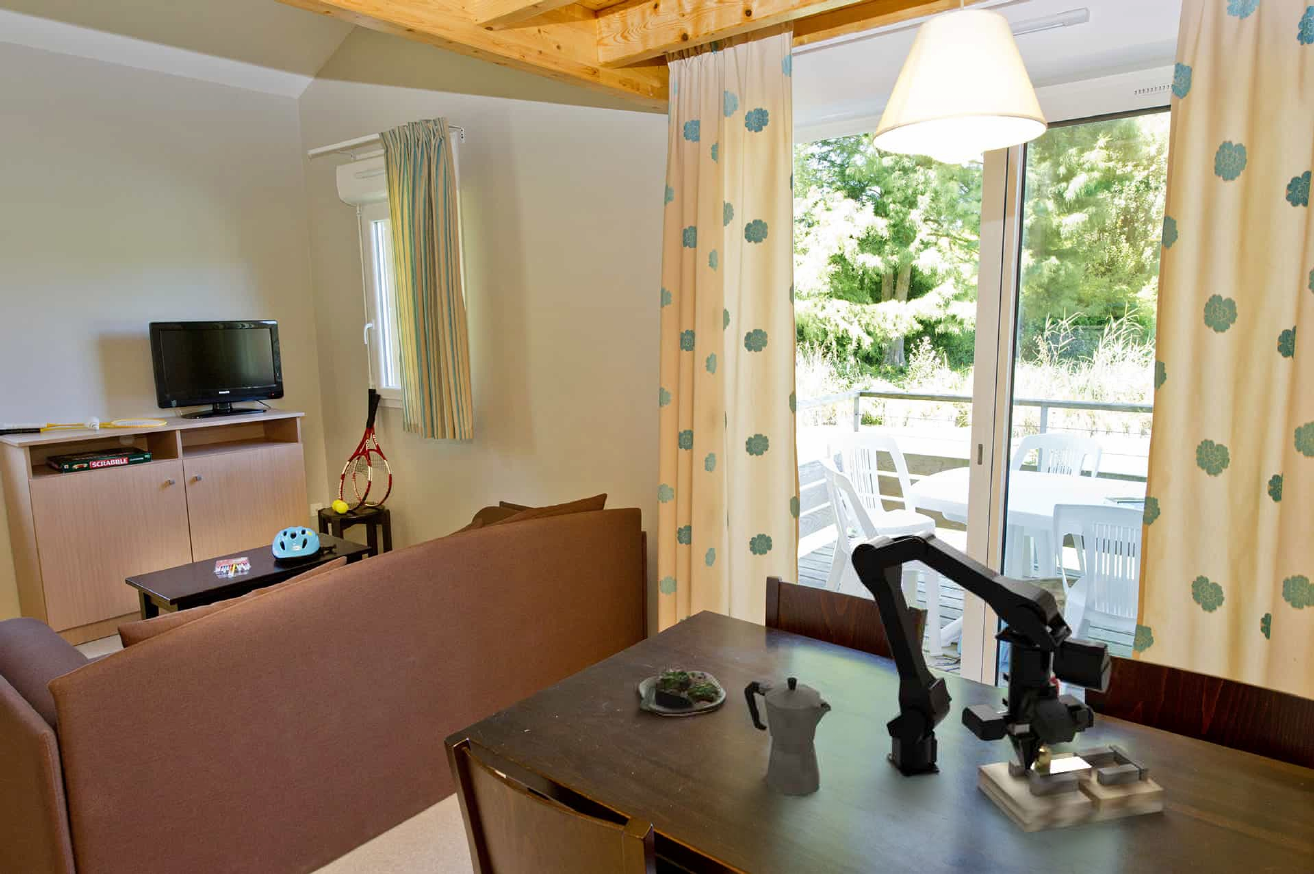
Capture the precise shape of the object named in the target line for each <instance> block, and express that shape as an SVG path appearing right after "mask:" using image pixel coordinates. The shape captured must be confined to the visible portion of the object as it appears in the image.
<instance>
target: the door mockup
mask: <svg viewBox="0 0 1314 874" xmlns="http://www.w3.org/2000/svg"><path fill="white" fill-rule="evenodd" d="M1073 757H1079V758H1081V759H1082V760H1083V761H1085V762H1086V763H1087V764H1089V765H1090V766H1091V767H1092V779H1089V780H1083V781H1078V780H1079V779H1078V778H1077V777H1076V776H1075V775H1073V774H1072V773H1066V774H1060V775H1053V776H1046V777H1040V778H1033V779H1029V778H1028V777H1027V770H1024V769H1023V768H1022V767H1021V765H1020V762H1019V760H1018V758H1016V759H1010V760H1008V761H1003V762H996V763H989V764H984V765H983V764H982V765H978V768H977V769H978V771H977V772H978V773H977V787H978V788H979V789H980V790H981V791H982V792H983V793H984V794H985V795H986V796H987V797H988V798H989V799H990V800H991V801H992V802H994V804H995V805H997V807H998V808H1000V810H1001V811H1002V812H1003V813H1004V814H1005V815H1006V816H1008V817H1009V818H1010V820H1011V821H1013V823H1015V824H1016V825H1017V826H1018V828H1020V829H1021V830H1022V831H1023V832H1024V833H1025V834H1029V833H1030V834H1031V833H1034V832H1040V831H1041V832H1042V831H1046V830H1047V831H1048V830H1054V829H1060V828H1065V827H1071V826H1078V825H1084V824H1089V823H1094V822H1095V823H1096V822H1100V821H1108V820H1114V819H1120V818H1125V817H1126V818H1127V817H1133V816H1138V815H1146V814H1151V813H1157V812H1163V807H1164V806H1163V805H1164V792H1165V791H1164V790H1165V789H1164V788H1162V787H1161V785H1158V784H1157V783H1155V782H1154V781H1153V780H1151V779H1150V778H1149V767H1148V766H1147V765H1145V764H1143V763H1142V762H1141V761H1140V760H1138V759H1136V758H1135V757H1134V756H1132V755H1131V754H1129V753H1128V752H1127V751H1125V750H1123V749H1122V748H1121V747H1119V746H1118V745H1116V744H1113V745H1108V746H1106V745H1105V746H1099V747H1093V748H1085V749H1078V750H1073V751H1072V752H1067V753H1066V752H1065V753H1059V754H1051V761H1052V760H1059V759H1066V758H1073Z"/></svg>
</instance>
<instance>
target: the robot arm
mask: <svg viewBox="0 0 1314 874" xmlns="http://www.w3.org/2000/svg"><path fill="white" fill-rule="evenodd" d="M850 556H851V557H850V561H851V565H852V566H853V568H854V569H853V570H854V571H855V573H856V574H857V577H858V580H859V581H860V583H861V584H862V585H863V586H864V587H865V588H866V589H867V590H868V591H869V592H870V594H871V595H872V596H873V599H874V602H875V605H876V609H877V611H878V614H879V618H880V622H881V624H882V627H883V631H884V633H885V636H886V641H887V642H888V645H889V649H890V652H891V655H892V658H893V661H894V664H895V667H896V670H897V673H898V676H899V677H898V678H899V685H898V686H899V687H898V697H897V698H898V706H899V712H898V713H896V715H895V716H893V718H891V719H890V720H889V721H888V722H887V723H886V724H885V725H886V728H887V732H888V735H889V737H891V752H889V753H887V754H886V757H887V759H888V760H889V761H890V762H891V763H892V765H894V767H895V768H896V769H897V770H898V771H899V773H900V774H901V775H902V776H903V777H905V778H906V777H907V778H909V777H914V776H920V775H927V774H935V773H940V767H939V766H938V765H937V764H936V763H937V762H938V739H937V738H936V732H935V731H934V729H936V728H937V726H939V725H940V723H941V722H942V721H943V720H944V719H946V717H947V716H948V715H949V712H950V711H951V705H950V702H951V701H953V698H952V697H951V695H950V694H949V692H948V689H947V684H946V682H947V681H946V679H945V677H943V676H941V677H939V678H936V677H935V676H934V674H933V673H932V672H931V671H930V670H929V668H928V665H927V663H926V662H927V661H926V660H925V656H924V653H923V651H922V647H921V643H920V641H919V639H918V636H917V632H916V629H915V627H914V623H913V620H912V616H911V614H910V610H909V608H908V605H907V602H906V598H905V595H904V592H903V589H902V577H903V564H906V563H908V562H914V561H919V562H920V563H922V564H923V565H926V566H927V567H929V568H930V569H932V570H934V571H935V572H937V573H939V574H940V575H942V576H944V577H945V578H947V579H949V580H950V581H952V582H953V583H955V584H957V585H959V586H960V587H962V588H963V589H965V590H966V591H968V592H970V593H971V594H973V595H975V596H976V597H978V598H980V599H981V600H982V601H984V602H985V603H986V604H987V605H989V606H990V608H991V610H992V611H993V612H994V613H995V615H996V616H997V617H998V618H999V619H1000V620H1002V621H1003V622H1004V623H1005V624H1006V626H1005V627H1004V628H1002V629H1001V630H1000V631H998V632H997V633H996V635H995V636H994V639H995V640H996V641H1000V642H1005V643H1009V652H1008V655H1009V657H1008V658H1009V659H1008V671H1004V672H1002V673H1003V675H1002V679H1003V680H1004V681H1006V682H1007V683H1008V685H1007V696H1004V697H1002V699H1001V700H1002V703H1001V704H1002V705H1003V706H1005V707H1006V708H1007V710H1004V711H998V712H997V711H996V710H995V709H993V708H992V707H991V706H990V705H988V704H986V703H985V704H978V705H972V706H971V705H970V706H966V707H965V708H963V710H962V712H961V724H962V725H963V726H965V727H966V728H967V729H968V730H969V731H970V732H971V733H972V734H973V735H974V736H975V737H977V738H978V739H979V740H980V741H984V742H991V741H992V742H993V741H999V740H1003V739H1004V738H1005V737H1006V736H1007V737H1008V739H1009V741H1010V743H1011V746H1012V748H1013V750H1014V753H1015V755H1016V757H1017V758H1016V759H1018V760H1019V762H1020V765H1021V767H1022V768H1023V769H1024V770H1030V769H1031V767H1032V765H1033V763H1034V761H1035V759H1036V757H1037V754H1038V752H1039V750H1040V749H1041V747H1042V746H1043V745H1044V744H1046V745H1049V746H1053V745H1056V744H1060V743H1061V744H1062V743H1067V744H1069V743H1072V742H1073V741H1074V738H1075V736H1076V734H1077V733H1078V734H1079V733H1085V732H1086V729H1089V728H1094V726H1095V718H1096V717H1095V713H1094V710H1093V709H1092V707H1090V706H1089V705H1087V704H1086V703H1084V701H1082V700H1080V699H1079V698H1077V697H1076V696H1074V695H1073V694H1071V693H1068V694H1059V695H1058V696H1057V689H1056V685H1055V684H1053V683H1052V682H1050V681H1051V669H1052V670H1053V673H1055V678H1056V679H1057V680H1058V681H1060V682H1059V683H1064V684H1068V685H1072V686H1076V687H1079V688H1083V689H1087V690H1091V691H1095V692H1098V693H1102V694H1105V693H1106V691H1107V690H1108V687H1109V684H1110V679H1111V672H1112V661H1111V660H1110V659H1111V657H1110V653H1109V651H1108V650H1109V649H1108V648H1109V647H1108V646H1109V645H1108V644H1107V643H1105V642H1099V641H1091V640H1090V641H1089V640H1085V639H1080V638H1075V637H1072V636H1071V634H1072V633H1073V631H1072V629H1071V628H1070V626H1069V625H1068V623H1067V622H1066V620H1065V619H1064V618H1063V616H1062V614H1061V613H1060V611H1059V610H1058V603H1057V601H1056V598H1055V596H1054V595H1053V594H1052V593H1051V592H1050V591H1048V590H1046V589H1045V588H1042V587H1041V586H1037V585H1036V584H1032V583H1030V582H1028V581H1025V580H1021V579H1016V578H1011V577H1008V576H1005V575H1002V574H1001V573H998V572H997V571H995V570H993V569H991V568H989V567H988V566H986V565H984V564H982V563H981V562H979V561H978V560H976V559H974V558H973V557H971V556H969V555H967V554H965V553H964V552H962V551H960V550H958V549H957V548H955V547H954V546H952V545H950V544H948V543H947V542H945V541H943V540H941V539H940V538H938V537H937V536H936V535H935V534H934V533H933V532H930V531H928V530H921V531H918V532H915V533H911V534H903V535H899V536H896V537H895V536H894V537H891V538H890V537H889V536H886V535H883V534H882V535H877V536H874V537H872V538H870V539H868V540H865V541H864V542H862V543H860V544H858V545H857V546H856V547H855V548H853V550H852V553H851V555H850ZM1047 627H1048V628H1049V629H1051V630H1050V631H1049V630H1048V629H1047Z"/></svg>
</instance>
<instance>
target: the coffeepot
mask: <svg viewBox="0 0 1314 874" xmlns="http://www.w3.org/2000/svg"><path fill="white" fill-rule="evenodd" d="M797 682H798V679H797V678H796V677H794V676H793V677H788V678H787V682H781V683H778V684H776V685H771V684H768V683H766V682H762V683H761V682H758V681H753V680H752V681H751V682H750V683H749V684H748V685H747V686H746V687H745V688H744V690H743V694H744V698H745V700H746V703H747V706H748V710H749V712H750V717H751V720H752V723H753V725H754V728H755V729H758V730H760V731H763V732H765V731H767V728H769V729H768V730H769V735H770V737H771V744H770V745H771V746H770V753H769V759H768V765H767V773H766V778H765V784H766V783H767V784H768V785H769V786H770V787H771V788H772V789H774V790H775V791H777V792H778V793H777V792H776V793H777V794H779V793H780V794H779V795H782V796H785V795H787V796H786V797H791V796H802V797H806V795H807V796H809V795H808V794H810V795H811V793H812V792H814V793H815V792H816V791H817V790H819V789H820V780H821V779H820V778H821V775H820V770H819V766H818V765H819V764H818V763H819V762H818V758H817V754H816V752H817V751H816V748H815V747H816V746H815V743H814V740H815V737H816V730H817V726H818V724H819V723H820V722H821V720H822V719H823V717H824V716H825V715H826V714H827V713H828V712H831V711H832V706H831V705H830V703H828V702H827V701H825V700H824V699H822V698H821V692H819V690H816V689H814V688H812V687H811V686H809V685H807V684H806V683H805V684H804V683H797ZM755 694H757V695H760V696H762V697H764V698H763V699H764V704H765V711H766V717H767V722H768V726H767V725H765V724H763V723H761V721H760V712H759V709H758V707H757V701H756V697H755ZM767 784H766V785H767ZM768 785H767V786H768ZM769 786H768V787H769ZM770 787H769V788H770ZM771 788H770V789H771ZM772 789H771V790H772ZM774 790H773V791H774ZM815 790H816V791H815ZM775 791H774V792H775ZM812 794H813V793H812Z"/></svg>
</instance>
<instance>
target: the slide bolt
mask: <svg viewBox="0 0 1314 874" xmlns="http://www.w3.org/2000/svg"><path fill="white" fill-rule="evenodd" d="M1052 753H1053V752H1052V750H1051V749H1050V748H1048V747H1046V746H1043V745H1042V747H1041V749H1040V750H1039V752H1038V754H1037V757H1036V759H1035V761H1034V763H1033V765H1032V767H1031V769H1030V770H1027V777H1028V778H1029V779H1033V778H1040V777H1046V776H1053V775H1060V774H1066V773H1072V774H1073V775H1075V776H1076V777H1077V778H1078V779H1079V780H1078V781H1083V780H1089V779H1092V767H1091V766H1090V765H1089V764H1087V763H1086V762H1085V761H1083V760H1082V759H1081V758H1079V757H1073V758H1066V759H1059V760H1052V761H1051V755H1052Z"/></svg>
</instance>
